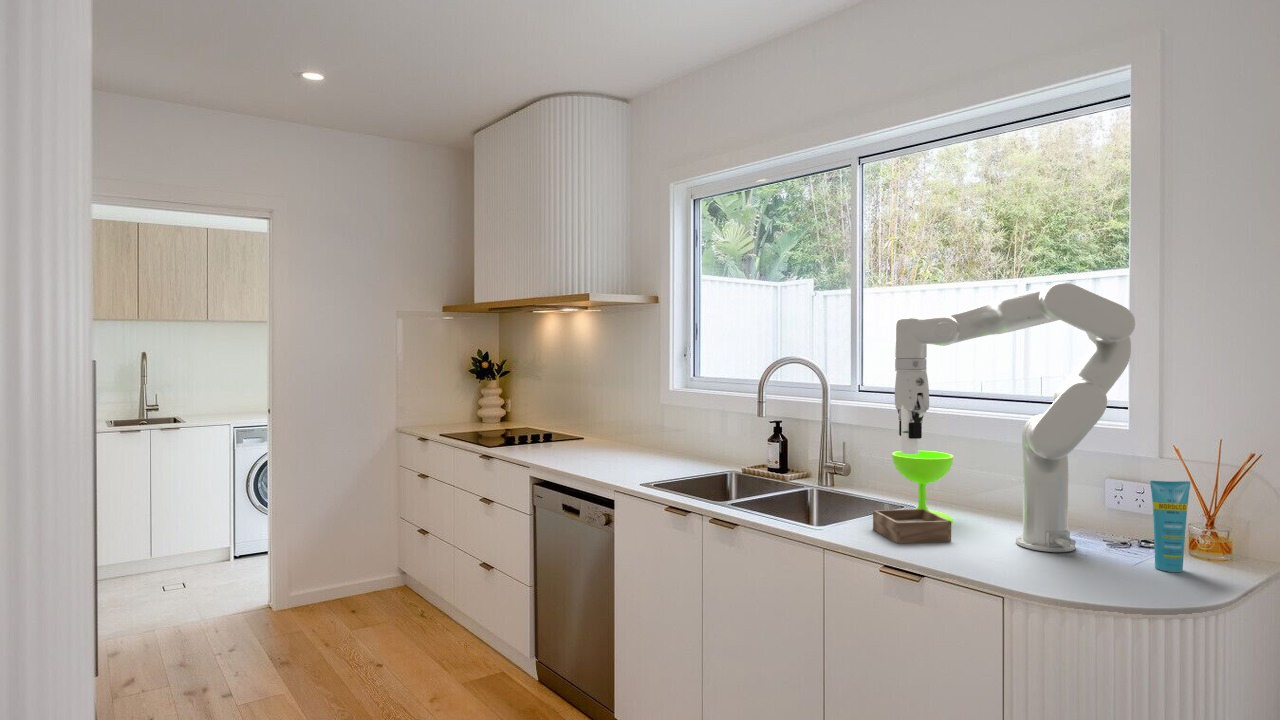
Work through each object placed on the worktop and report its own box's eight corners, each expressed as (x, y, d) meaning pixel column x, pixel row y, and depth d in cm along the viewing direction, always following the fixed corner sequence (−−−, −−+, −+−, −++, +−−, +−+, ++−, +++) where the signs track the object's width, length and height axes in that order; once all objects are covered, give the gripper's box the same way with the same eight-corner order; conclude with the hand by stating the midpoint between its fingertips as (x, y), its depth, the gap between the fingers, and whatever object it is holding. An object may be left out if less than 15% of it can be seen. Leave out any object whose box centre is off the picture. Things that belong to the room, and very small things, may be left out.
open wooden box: (951, 541, 184) (951, 521, 184) (897, 543, 183) (897, 523, 183) (923, 527, 198) (923, 508, 198) (873, 529, 197) (873, 510, 197)
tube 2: (1156, 572, 159) (1156, 482, 158) (1144, 565, 164) (1145, 478, 163) (1194, 573, 158) (1195, 483, 157) (1181, 566, 162) (1182, 478, 162)
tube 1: (898, 452, 192) (898, 394, 192) (914, 451, 193) (914, 393, 192) (905, 454, 188) (905, 395, 188) (922, 454, 188) (922, 395, 188)
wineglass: (880, 514, 214) (880, 452, 214) (928, 511, 218) (928, 449, 218) (915, 527, 198) (915, 460, 198) (966, 523, 203) (966, 457, 202)
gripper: (941, 366, 182) (941, 441, 182) (909, 364, 199) (908, 433, 199) (912, 366, 181) (911, 441, 181) (882, 364, 198) (881, 433, 198)
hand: (910, 436), depth 190 cm, fingers closed on tube 1, 4 cm apart
